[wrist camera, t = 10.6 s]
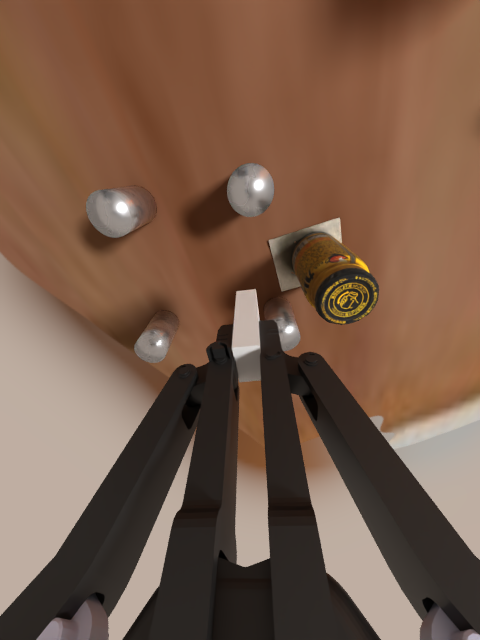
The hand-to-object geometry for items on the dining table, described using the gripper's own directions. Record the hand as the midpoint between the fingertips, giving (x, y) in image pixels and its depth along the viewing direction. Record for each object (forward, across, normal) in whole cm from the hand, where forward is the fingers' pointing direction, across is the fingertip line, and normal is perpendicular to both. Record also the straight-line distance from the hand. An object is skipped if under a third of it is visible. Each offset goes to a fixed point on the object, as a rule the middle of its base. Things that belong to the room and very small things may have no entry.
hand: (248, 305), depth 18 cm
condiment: (+14, +7, -2) cm, 16 cm away
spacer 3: (+14, +1, +7) cm, 15 cm away
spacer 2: (+13, -14, -9) cm, 21 cm away
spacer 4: (+13, +3, -9) cm, 16 cm away
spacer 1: (+14, -12, +7) cm, 19 cm away
